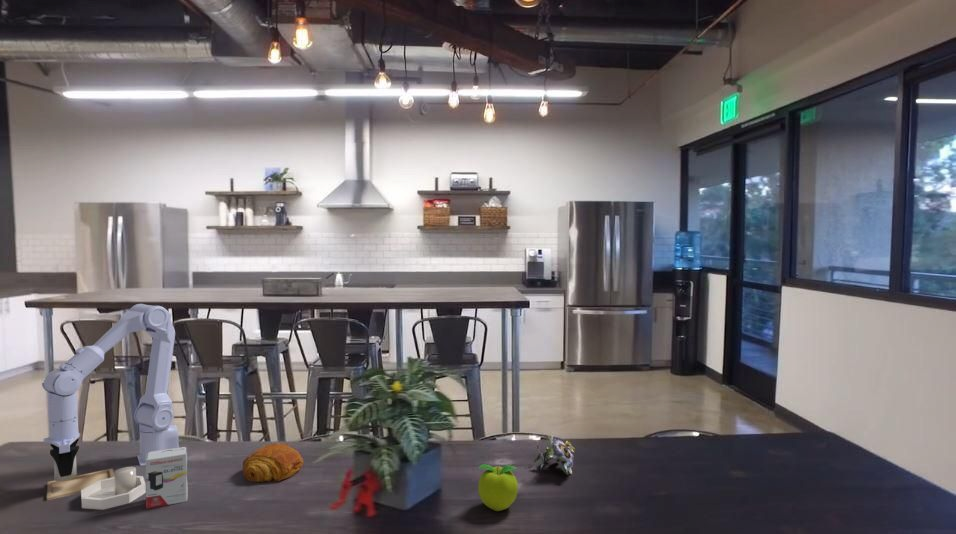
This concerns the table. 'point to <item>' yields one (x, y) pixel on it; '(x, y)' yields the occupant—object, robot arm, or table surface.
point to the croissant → (272, 463)
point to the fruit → (497, 487)
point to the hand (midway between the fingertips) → (65, 472)
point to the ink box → (166, 477)
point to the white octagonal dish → (109, 494)
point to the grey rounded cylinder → (125, 480)
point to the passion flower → (558, 454)
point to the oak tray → (76, 484)
